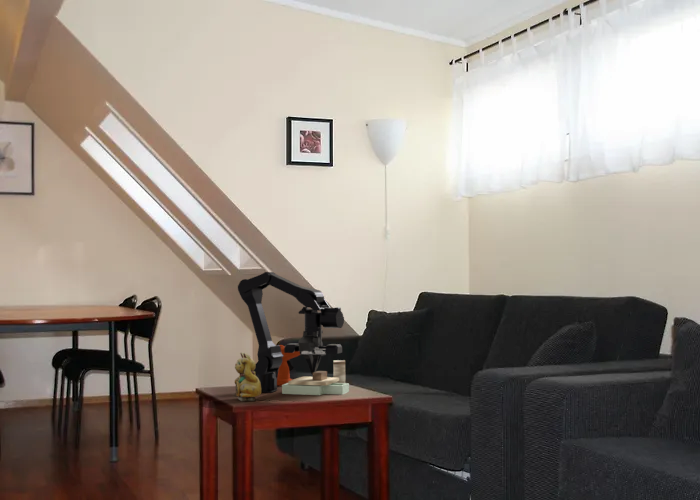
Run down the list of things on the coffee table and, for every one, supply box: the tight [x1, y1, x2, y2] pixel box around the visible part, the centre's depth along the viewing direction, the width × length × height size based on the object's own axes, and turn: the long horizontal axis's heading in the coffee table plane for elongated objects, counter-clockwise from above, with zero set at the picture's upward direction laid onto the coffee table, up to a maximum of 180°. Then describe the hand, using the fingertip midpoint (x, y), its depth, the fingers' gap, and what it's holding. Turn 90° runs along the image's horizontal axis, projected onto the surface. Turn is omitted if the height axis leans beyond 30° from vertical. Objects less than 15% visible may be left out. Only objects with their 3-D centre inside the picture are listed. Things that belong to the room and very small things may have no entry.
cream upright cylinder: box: [332, 359, 346, 383], centre depth 296 cm, size 4×4×10 cm
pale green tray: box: [281, 382, 350, 396], centre depth 283 cm, size 20×14×4 cm
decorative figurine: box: [234, 352, 262, 402], centre depth 273 cm, size 10×8×15 cm
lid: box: [288, 370, 339, 386], centre depth 283 cm, size 13×14×4 cm
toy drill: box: [276, 344, 319, 387], centre depth 310 cm, size 5×19×15 cm, turn 92°
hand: (313, 374), depth 284 cm, fingers closed
